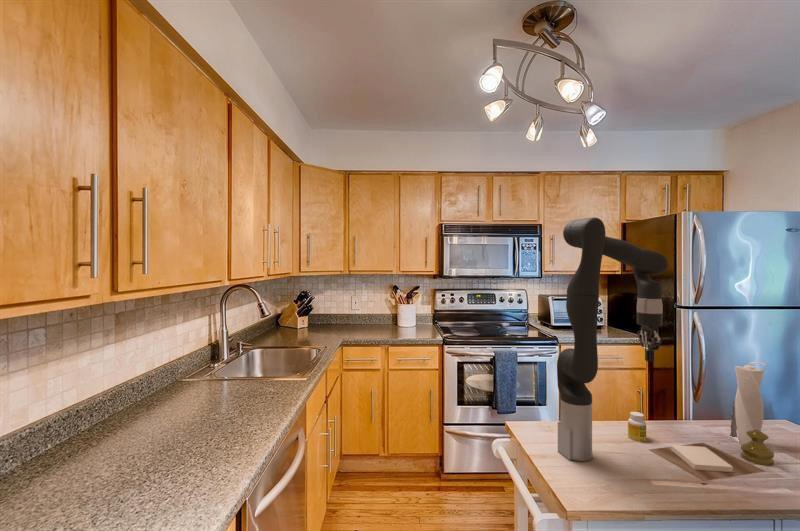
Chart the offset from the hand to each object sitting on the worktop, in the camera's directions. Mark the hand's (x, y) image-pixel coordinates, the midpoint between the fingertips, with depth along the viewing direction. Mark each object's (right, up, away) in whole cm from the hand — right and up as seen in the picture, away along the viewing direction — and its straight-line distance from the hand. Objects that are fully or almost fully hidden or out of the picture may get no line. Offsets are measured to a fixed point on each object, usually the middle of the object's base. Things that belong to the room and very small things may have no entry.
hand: (649, 361), depth 133 cm
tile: (+5, -25, -11) cm, 28 cm away
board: (+6, -27, -16) cm, 32 cm away
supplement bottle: (-6, -27, -2) cm, 28 cm away
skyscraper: (+31, -28, -3) cm, 42 cm away
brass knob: (+22, -27, -16) cm, 39 cm away
